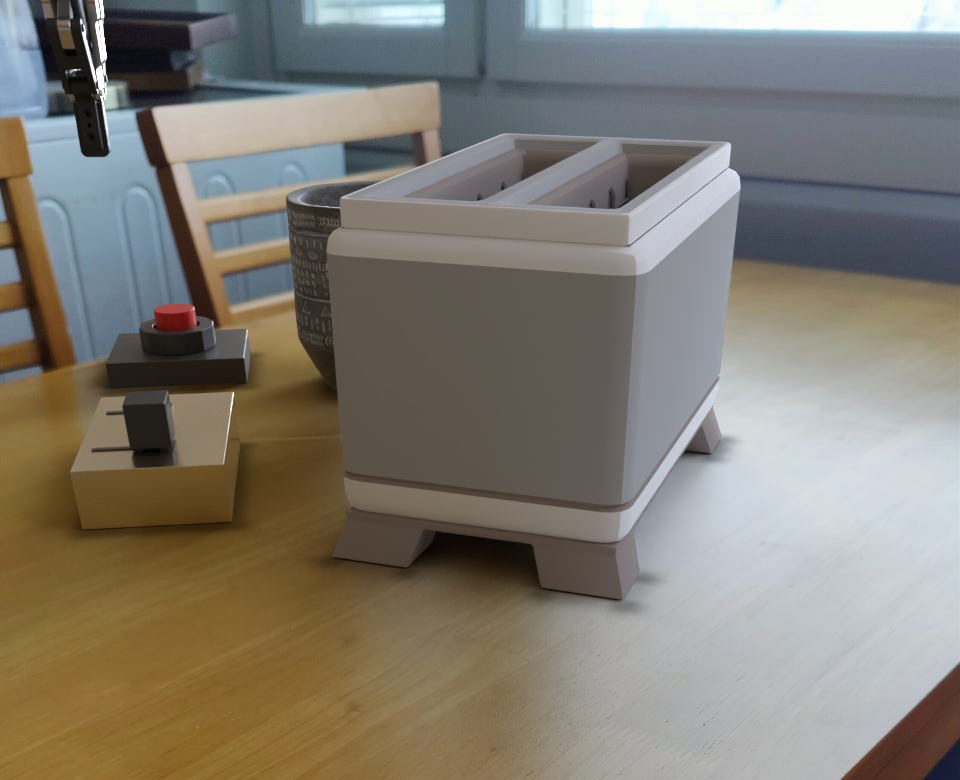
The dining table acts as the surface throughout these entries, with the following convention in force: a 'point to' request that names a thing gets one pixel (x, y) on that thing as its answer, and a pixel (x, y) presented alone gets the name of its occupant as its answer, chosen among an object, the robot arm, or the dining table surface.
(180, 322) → the button
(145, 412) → the slider
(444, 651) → the dining table surface
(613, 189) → the toaster
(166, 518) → the panel
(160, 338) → the button housing
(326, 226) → the planter
